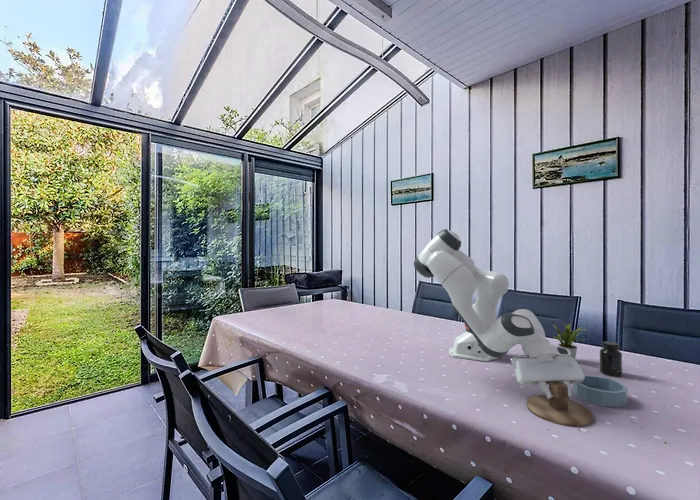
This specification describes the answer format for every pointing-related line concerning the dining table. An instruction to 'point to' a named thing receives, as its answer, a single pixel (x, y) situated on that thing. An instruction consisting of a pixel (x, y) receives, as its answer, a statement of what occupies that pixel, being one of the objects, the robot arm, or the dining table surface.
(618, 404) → the slate bowl
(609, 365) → the supplement bottle
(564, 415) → the walnut lid
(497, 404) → the dining table surface
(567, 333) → the house plant
